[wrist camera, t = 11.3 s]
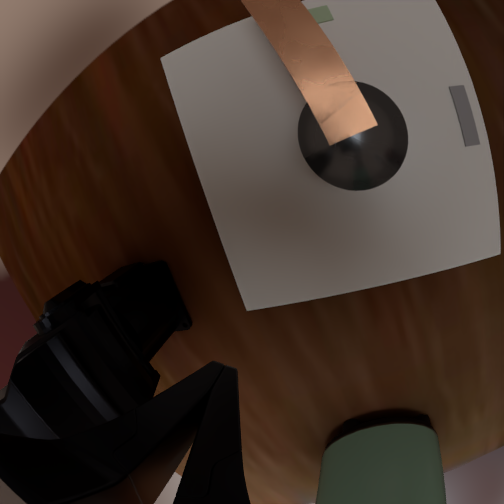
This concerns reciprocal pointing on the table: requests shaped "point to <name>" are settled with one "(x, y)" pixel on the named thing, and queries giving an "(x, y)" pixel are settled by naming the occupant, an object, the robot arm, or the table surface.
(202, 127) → the base plate
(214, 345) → the table surface
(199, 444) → the robot arm
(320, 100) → the lever
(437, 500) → the juicer
